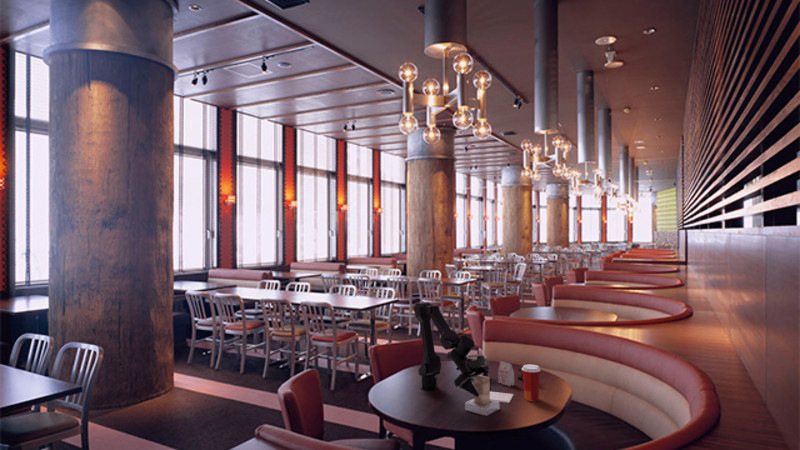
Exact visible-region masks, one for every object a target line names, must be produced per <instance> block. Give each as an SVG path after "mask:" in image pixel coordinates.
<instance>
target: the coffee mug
mask: <svg viewBox="0 0 800 450" xmlns="http://www.w3.org/2000/svg"><path fill="white" fill-rule="evenodd" d="M480 355H482V356H483V357H484V358H485V359H486V360H485V362H484V363H485V365H487V366H488V364H487V361H488V360H487V359H488V358H487V355H484V354H478V353H474V354H473V353H471V354H468V355H466V356H467V358H468V359H470V358H471V359H472V360H473V361H474V360H476V359H477V357H478V356H480ZM482 366H483V365H482ZM473 375H474V374H473ZM474 378H475V377H473V378H472V380H473V379H474Z"/></svg>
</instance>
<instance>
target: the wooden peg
mask: <svg viewBox="0 0 800 450" xmlns="http://www.w3.org/2000/svg"><path fill="white" fill-rule="evenodd" d="M490 378H491V377H489V376H488V377H486V376H482V375H479V376H477V377H475V378H474V380H473V386H474V387H475V389H476V390H477V392H478V394H479V396H478V397H476V396H475V395H473V396H474V398H473V399H474V403H476V404H480V405H483V406H485V405H487V404H489V403H490V386H491V383H490V382H491V381H490Z"/></svg>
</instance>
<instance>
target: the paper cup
mask: <svg viewBox="0 0 800 450" xmlns="http://www.w3.org/2000/svg"><path fill="white" fill-rule="evenodd" d="M521 367H522V370H523V380H524V381H523V380H522V381H523V388H524V389H523V391H524V393H523V394H524V399H525V401H528V402H537V401H539V396H540V375H541V373H540V372H541V369H540V366H539V365H536V364H524V365H523V366H521Z"/></svg>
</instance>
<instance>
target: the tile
mask: <svg viewBox="0 0 800 450" xmlns="http://www.w3.org/2000/svg"><path fill="white" fill-rule="evenodd" d="M513 398H514V393H507V392H498V391H492V390H491V391H490V399H492V400H495V401H499V403H505V404H506V403H507V404H510V403H511V401H512V399H513Z"/></svg>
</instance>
